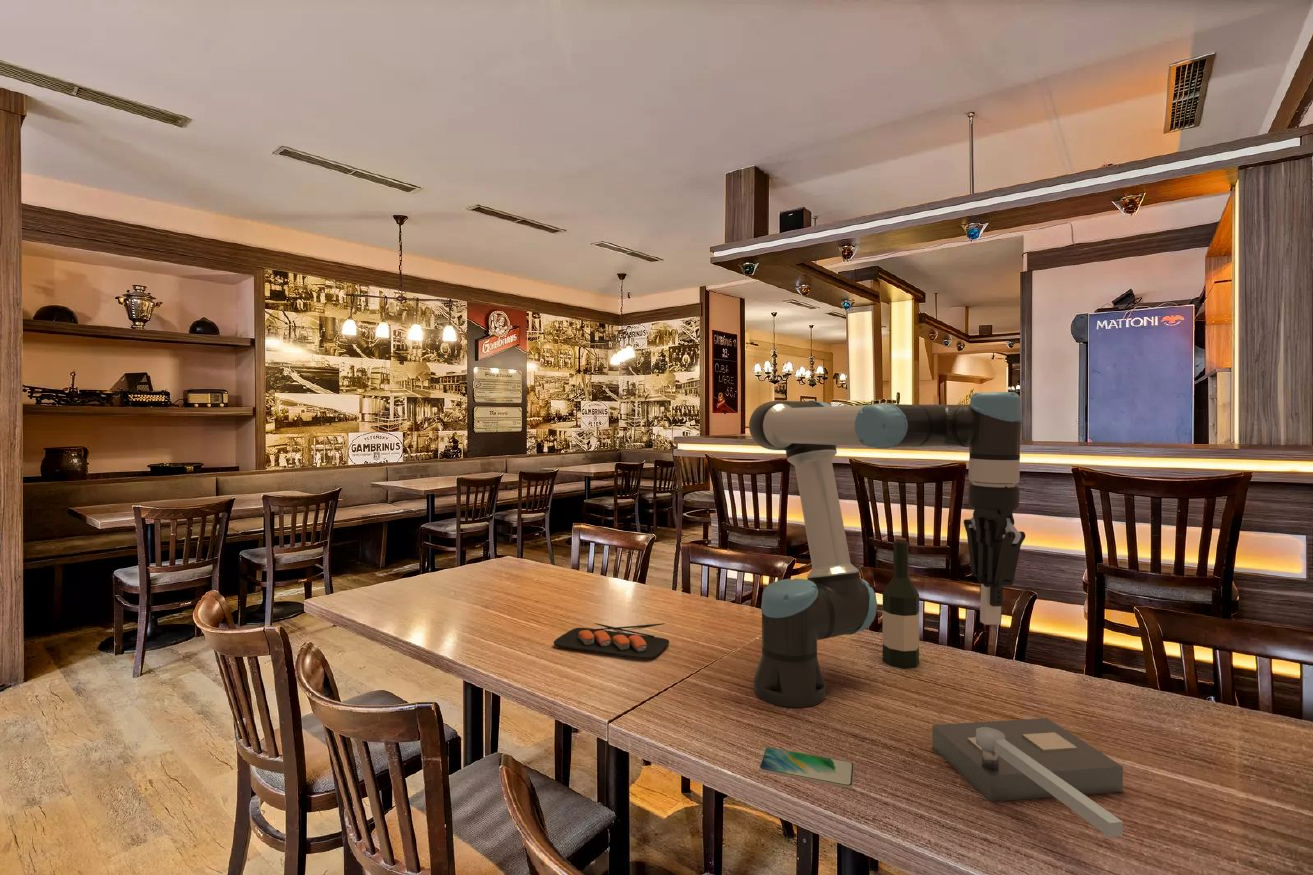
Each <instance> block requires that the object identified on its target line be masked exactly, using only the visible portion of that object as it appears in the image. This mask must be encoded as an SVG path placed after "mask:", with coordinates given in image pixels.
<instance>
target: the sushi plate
mask: <svg viewBox="0 0 1313 875" xmlns="http://www.w3.org/2000/svg"><path fill="white" fill-rule="evenodd" d="M666 624H667V623H666V622H665V623H652V624H641V625H640V624H638V625H631V626H617V627H616V626H615V627H614V626H610V625H605V624H602V623H598V622H597V623H596V622H594V625H598V626H600V627H604V628H593V627H592V628H590V627H576V628H575V627H574V628H573V629H570V630H569V631H567V632H565V633H563V634H561V636H559V637H557V638H556V639H555V640H553V644H554V646H556V647H561V648H568V649H575V650H578V651H579V650H580V651H588V652H594V653H599V654H606V655H607V654H608V655H615V656H621V657H628V658H635V659H644V660H645V659H649V660H650V659H653V658H656V657H657V656H659V654H661V653H662V652H663V651H664V650H665V649H666V648H667V647H668V646H669V645H670V640H669V639H668V638H663V637H659V636H658V637H657V636H655V635H653V634H648V633H643V632H639V631H638V632H637V631H633V630H628V629H636V628H650V627H654V626H656V627H657V626H661V625H666ZM613 630H614V631H613ZM621 631H622V632H621Z"/></svg>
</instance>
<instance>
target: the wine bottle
mask: <svg viewBox="0 0 1313 875" xmlns="http://www.w3.org/2000/svg"><path fill="white" fill-rule="evenodd" d="M892 553H893V554H892V555H893V563H892V564H893V565H892V566H893V567H892V568H893V570H892V571H893V576H892V578H891V579H890V581H889V582H888V584H887V585H886V587H885V588H884V590H883V592H882V662H883V663H885V664H887V665H888V666H889V667H893V668H899V669H903V670H905V669H916V668H918V666H919V664H920V593H919V591H917V589H916V587H915V585H914V583H913V582H912V580H911V579H910V577H909V541H907V538H905V537H896V538H895V539H894V541H893V551H892Z"/></svg>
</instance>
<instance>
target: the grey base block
mask: <svg viewBox="0 0 1313 875" xmlns="http://www.w3.org/2000/svg"><path fill="white" fill-rule="evenodd" d="M980 727H988V728H993V729H996V730H998V731H1000V732H1002V733H1003V734H1004V735H1005V740H1006V741H1008V742H1009V743H1011V744H1012V745H1014V746H1015V747H1016V748H1018V749H1019V750H1021V751H1022V752H1024V753H1025V754H1026V755H1028V756H1029V757H1031V758H1032V759H1034V760H1035V761H1036V762H1038V763H1039V764H1041V765H1042V766H1044V767H1045V768H1047V769H1048V770H1049V771H1051V772H1052V773H1054V774H1055V775H1057V776H1058V777H1059V778H1061V779H1062V780H1064V781H1065V782H1067V783H1068V784H1069V785H1071V786H1072V787H1074V788H1075V789H1077V790H1078V791H1079V792H1081V793H1082V794H1084V795H1085V796H1087V795H1088V796H1089V795H1101V794H1113V793H1123V790H1124V789H1123V788H1124V785H1123V784H1124V783H1123V782H1124V779H1123V778H1124V775H1123V773H1124V766H1122V764H1120V763H1118V762H1116V761H1115V760H1114V759H1112V758H1110V757H1109V756H1107V755H1105V754H1104V753H1103V752H1101V751H1099V750H1097V749H1096V748H1095V747H1094V746H1092V745H1090V744H1088V743H1087V742H1085V741H1084V740H1082V739H1081V738H1079V737H1077V736H1076V735H1074V734H1073V733H1071V732H1070V731H1068V730H1067V729H1065V728H1063V727H1061V725H1059V724H1057V723H1056V722H1054V721H1053V720H1051V719H1050V718H1047V717H1046V718H1045V717H1043V718H1027V719H1024V718H1023V719H1009V720H996V721H978V722H975V721H974V722H962V723H960V722H959V723H946V724H945V723H944V724H943V723H942V724H932V748H933V749H934V750H935V752H937V753H938V754H939V755H940V756H941V757H942V758H944V760H945V761H946V762H947V763H948V764H950V766H952V767H953V768H954V769H955V770H956V772H958V773H959V774H960V775H962V777H964V779H966V780H967V781H968V782H969V783H970V784H971V785H972V786H973V788H975V789H976V790H977V791H978V792H979V793H980V794H982V796H984V797H985V798H986V800H988V801H989V802H990V803H993V802H1004V801H1005V802H1006V801H1007V802H1008V801H1019V800H1033V799H1046V798H1055V797H1054V796H1053V795H1051V794H1050V793H1049V792H1047V791H1046V790H1045V789H1043V788H1042V787H1041V786H1039V785H1038V784H1037V783H1035V782H1034V781H1033V780H1031V779H1030V778H1029V777H1027V776H1026V775H1024V774H1023V773H1022V772H1020V771H1019V770H1018V769H1016V768H1015V767H1014V766H1012V765H1011V764H1010V763H1008V762H1007V761H1006V760H1004V759H1003V758H1002V757H1000V756H999V755H998V754H996V753H995V752H994V751H989V750H986V749H983V748H981V747H980V746H978V745H977V744H976V729H977V728H980Z"/></svg>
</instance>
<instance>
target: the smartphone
mask: <svg viewBox="0 0 1313 875" xmlns="http://www.w3.org/2000/svg"><path fill="white" fill-rule="evenodd" d="M758 769H759V771H760V772H762V773H764V774H765V773H766V774H767V773H768V774H771V775H776V776H783V777H789V778H793V779H798V780H804V781H810V782H814V783H819V784H820V783H821V784H823V785H824V784H825V785H828V786H829V785H831V786H836V787H841V788H845V789H851V788H853V786H854V775H855V764H854V763H853V762H852V761H847V760H843V759H837V758H835V759H834V758H831V757H824V756H820V755H819V756H818V755H814V754H808V753H803V752H797V751H792V750H791V751H790V750H786V749H782V748H781V749H780V748H774V747H766V748H765V749H764V752H763V755H762V758H761V761H760V764H759V767H758Z"/></svg>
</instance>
